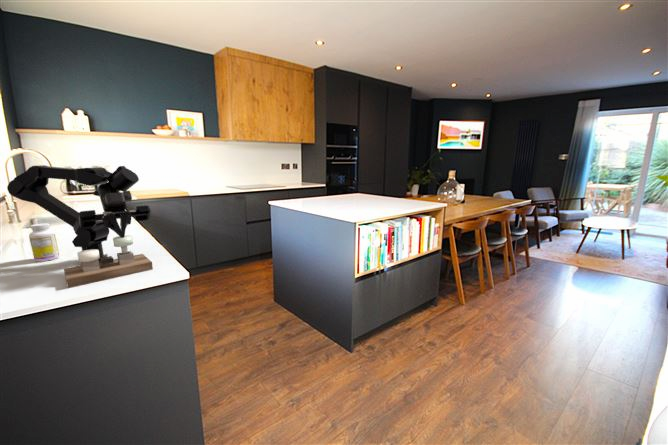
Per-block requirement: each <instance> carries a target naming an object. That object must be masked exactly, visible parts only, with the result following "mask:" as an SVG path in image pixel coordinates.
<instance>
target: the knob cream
mask: <svg viewBox="0 0 668 445" xmlns="http://www.w3.org/2000/svg"><path fill="white" fill-rule="evenodd" d="M76 254H77V259H78V262H80V263H81V262H89V261H94V260H97V259H99V258H100V255H99V250H98V249H91V250H84V251H82V250H81V251H78V252H77V253H76Z"/></svg>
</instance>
